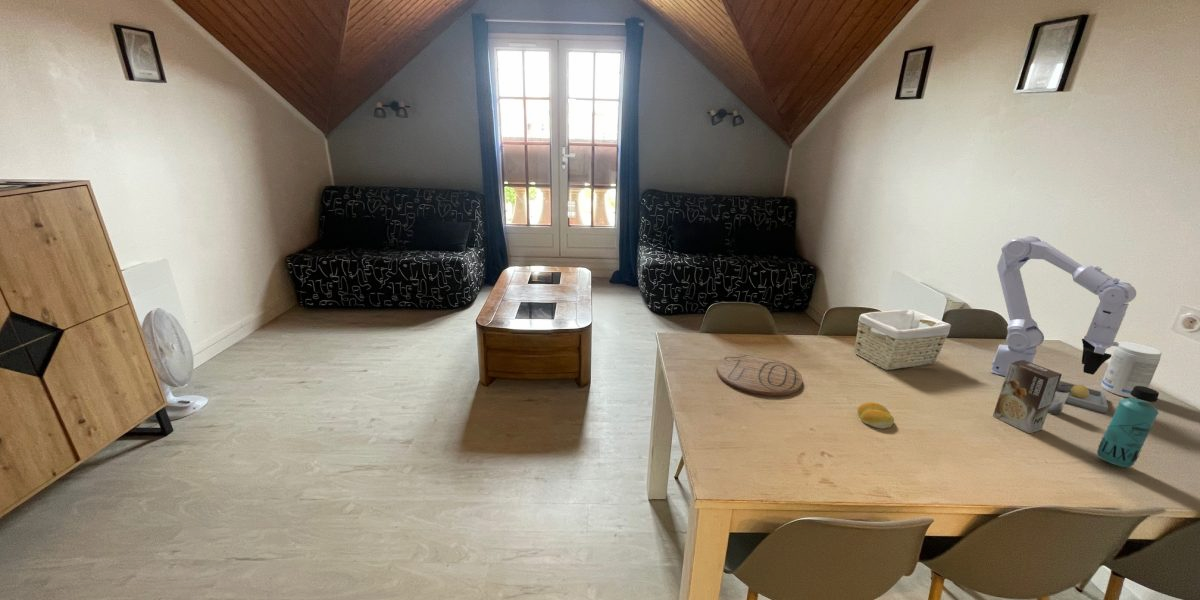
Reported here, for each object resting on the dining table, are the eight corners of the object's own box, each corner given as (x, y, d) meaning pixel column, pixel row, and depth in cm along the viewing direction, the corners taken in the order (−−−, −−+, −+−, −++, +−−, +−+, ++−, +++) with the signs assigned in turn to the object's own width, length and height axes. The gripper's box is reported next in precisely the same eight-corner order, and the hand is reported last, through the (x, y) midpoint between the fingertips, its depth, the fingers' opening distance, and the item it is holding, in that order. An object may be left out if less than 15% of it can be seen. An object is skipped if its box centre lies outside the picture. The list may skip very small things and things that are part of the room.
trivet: (709, 386, 146) (710, 380, 145) (722, 353, 168) (723, 348, 167) (800, 405, 137) (802, 399, 137) (802, 368, 159) (803, 363, 159)
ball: (1067, 398, 147) (1071, 390, 144) (1069, 387, 149) (1073, 380, 146) (1085, 403, 145) (1090, 395, 142) (1087, 392, 147) (1092, 385, 144)
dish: (1049, 398, 146) (1051, 392, 146) (1049, 384, 155) (1051, 378, 154) (1105, 413, 139) (1108, 407, 139) (1101, 397, 148) (1104, 391, 147)
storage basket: (900, 346, 179) (910, 307, 174) (942, 365, 165) (955, 324, 160) (848, 353, 172) (857, 312, 167) (887, 374, 157) (898, 331, 152)
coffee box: (1043, 429, 130) (1064, 374, 125) (1029, 434, 128) (1050, 378, 123) (1005, 411, 138) (1023, 359, 133) (990, 415, 136) (1009, 362, 130)
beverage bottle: (1085, 455, 120) (1117, 381, 113) (1110, 455, 121) (1143, 381, 114) (1114, 473, 114) (1149, 396, 107) (1140, 473, 114) (1177, 396, 108)
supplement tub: (1147, 394, 151) (1167, 350, 146) (1139, 402, 146) (1159, 357, 141) (1104, 381, 159) (1122, 338, 154) (1095, 388, 154) (1113, 344, 149)
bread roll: (863, 428, 128) (867, 414, 127) (853, 409, 136) (856, 396, 135) (898, 432, 127) (902, 418, 125) (885, 413, 135) (889, 400, 134)
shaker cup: (1038, 410, 140) (1048, 384, 137) (1038, 404, 143) (1048, 378, 140) (1061, 417, 137) (1072, 390, 134) (1061, 410, 140) (1071, 384, 137)
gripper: (1128, 336, 132) (1108, 382, 136) (1121, 322, 142) (1103, 365, 147) (1092, 329, 136) (1074, 373, 141) (1088, 315, 147) (1072, 357, 151)
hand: (1087, 368), depth 144 cm, fingers open, 7 cm apart
